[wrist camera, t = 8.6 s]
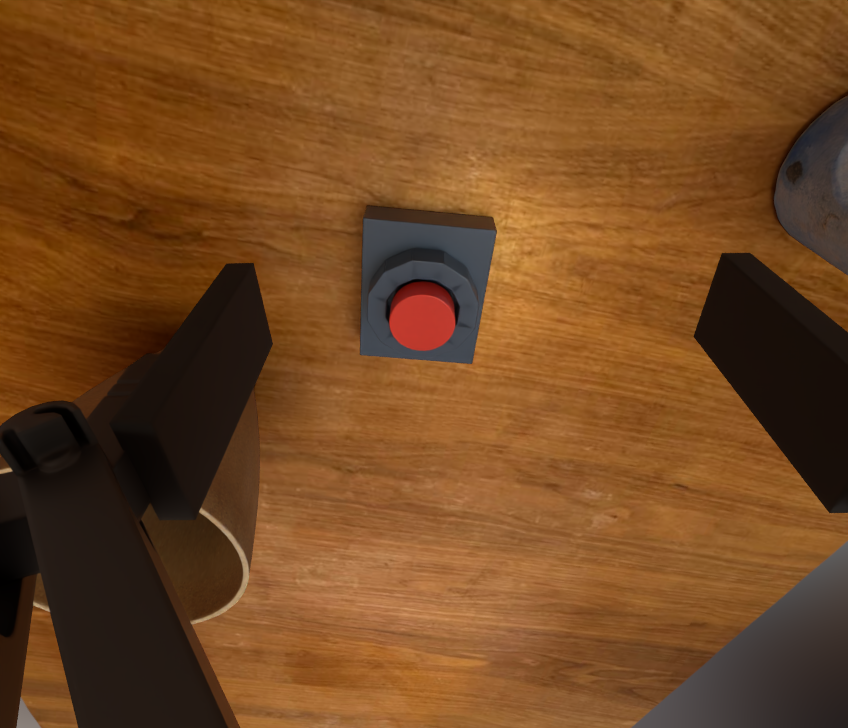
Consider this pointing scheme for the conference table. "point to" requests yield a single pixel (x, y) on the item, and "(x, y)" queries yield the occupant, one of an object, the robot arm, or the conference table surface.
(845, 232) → the bottle
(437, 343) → the button
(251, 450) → the plant pot
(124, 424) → the robot arm
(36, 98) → the conference table surface
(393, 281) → the button block
